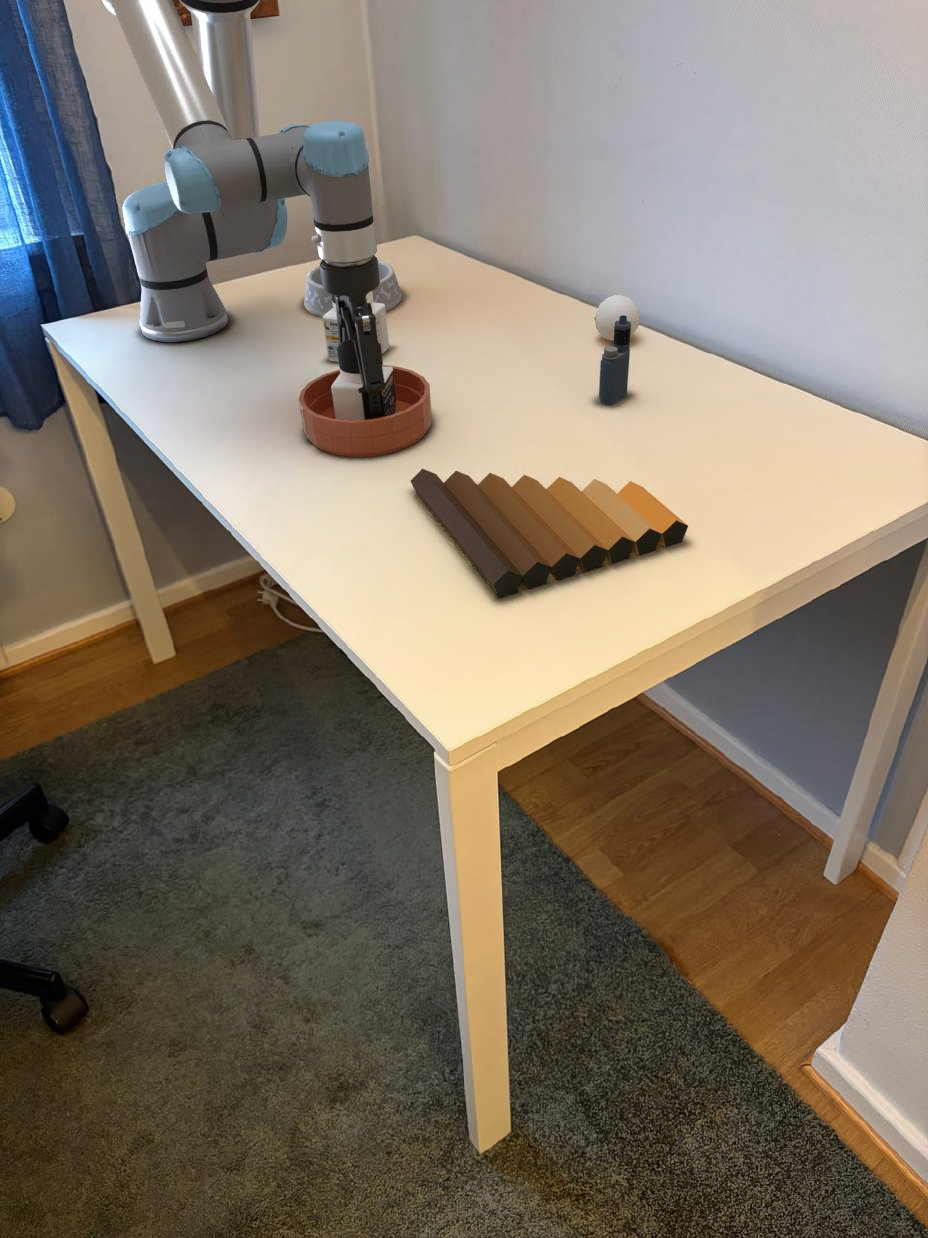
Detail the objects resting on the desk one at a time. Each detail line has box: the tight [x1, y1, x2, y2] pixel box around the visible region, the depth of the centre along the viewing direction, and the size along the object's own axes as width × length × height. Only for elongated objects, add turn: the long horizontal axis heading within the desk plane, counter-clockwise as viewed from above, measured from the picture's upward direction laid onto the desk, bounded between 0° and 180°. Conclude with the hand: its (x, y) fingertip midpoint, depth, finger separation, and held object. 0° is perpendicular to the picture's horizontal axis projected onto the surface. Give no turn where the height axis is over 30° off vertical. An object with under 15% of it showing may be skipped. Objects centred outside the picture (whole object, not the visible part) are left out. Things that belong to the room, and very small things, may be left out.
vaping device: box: [598, 315, 631, 406], centre depth 138 cm, size 3×5×12 cm, turn 137°
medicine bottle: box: [331, 339, 397, 420], centre depth 134 cm, size 7×7×12 cm
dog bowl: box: [303, 259, 403, 318], centre depth 177 cm, size 17×18×5 cm
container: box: [322, 291, 390, 363], centre depth 155 cm, size 8×8×13 cm
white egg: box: [593, 294, 641, 342], centre depth 157 cm, size 10×7×7 cm
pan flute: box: [410, 468, 689, 599], centre depth 116 cm, size 25×3×25 cm
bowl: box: [297, 364, 433, 458], centre depth 136 cm, size 18×18×6 cm
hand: (367, 416), depth 137 cm, fingers closed on medicine bottle, 9 cm apart
